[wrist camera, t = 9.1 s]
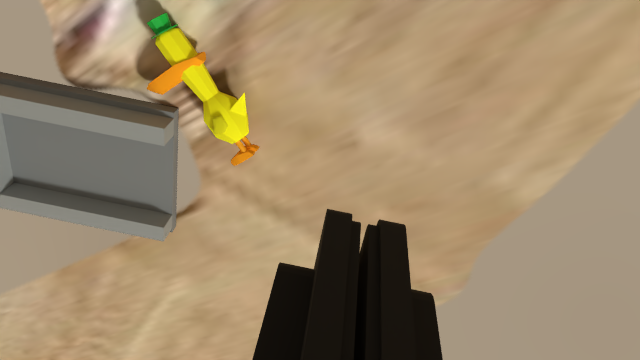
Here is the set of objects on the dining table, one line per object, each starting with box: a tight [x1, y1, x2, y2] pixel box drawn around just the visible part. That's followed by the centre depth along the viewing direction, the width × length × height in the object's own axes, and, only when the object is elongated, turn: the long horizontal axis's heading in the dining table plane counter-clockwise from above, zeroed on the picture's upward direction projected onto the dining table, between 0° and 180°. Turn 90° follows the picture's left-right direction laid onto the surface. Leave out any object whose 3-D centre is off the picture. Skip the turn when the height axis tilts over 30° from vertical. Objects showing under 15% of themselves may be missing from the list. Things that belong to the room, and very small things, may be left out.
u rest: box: [0, 72, 178, 241], centre depth 41 cm, size 12×16×3 cm
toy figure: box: [147, 13, 259, 166], centre depth 36 cm, size 7×4×12 cm
